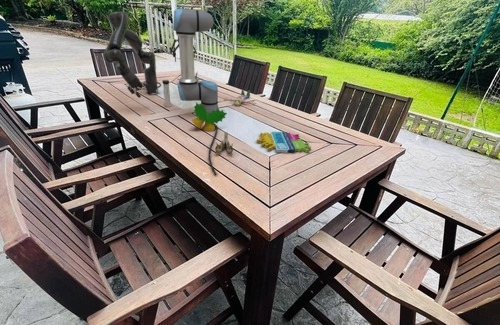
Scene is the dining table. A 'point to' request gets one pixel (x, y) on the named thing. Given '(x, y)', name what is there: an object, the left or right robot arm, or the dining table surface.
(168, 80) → the lid
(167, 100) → the bottle
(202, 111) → the ornament
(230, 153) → the jawbone
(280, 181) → the dining table surface
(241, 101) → the toy
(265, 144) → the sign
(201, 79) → the airplane
